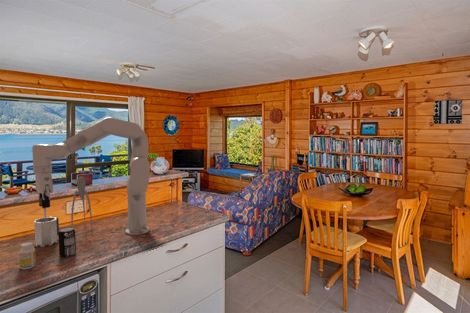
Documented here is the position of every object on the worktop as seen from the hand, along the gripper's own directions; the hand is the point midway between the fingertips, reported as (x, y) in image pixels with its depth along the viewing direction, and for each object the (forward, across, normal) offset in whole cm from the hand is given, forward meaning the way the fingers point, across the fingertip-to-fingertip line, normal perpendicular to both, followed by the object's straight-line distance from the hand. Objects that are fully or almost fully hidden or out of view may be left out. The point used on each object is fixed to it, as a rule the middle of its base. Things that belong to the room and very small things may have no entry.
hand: (44, 206), depth 142 cm
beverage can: (+19, -22, -2) cm, 29 cm away
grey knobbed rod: (+14, 0, 0) cm, 14 cm away
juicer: (+19, +9, -22) cm, 30 cm away
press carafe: (+19, +1, -1) cm, 19 cm away
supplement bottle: (+19, -22, +13) cm, 32 cm away
